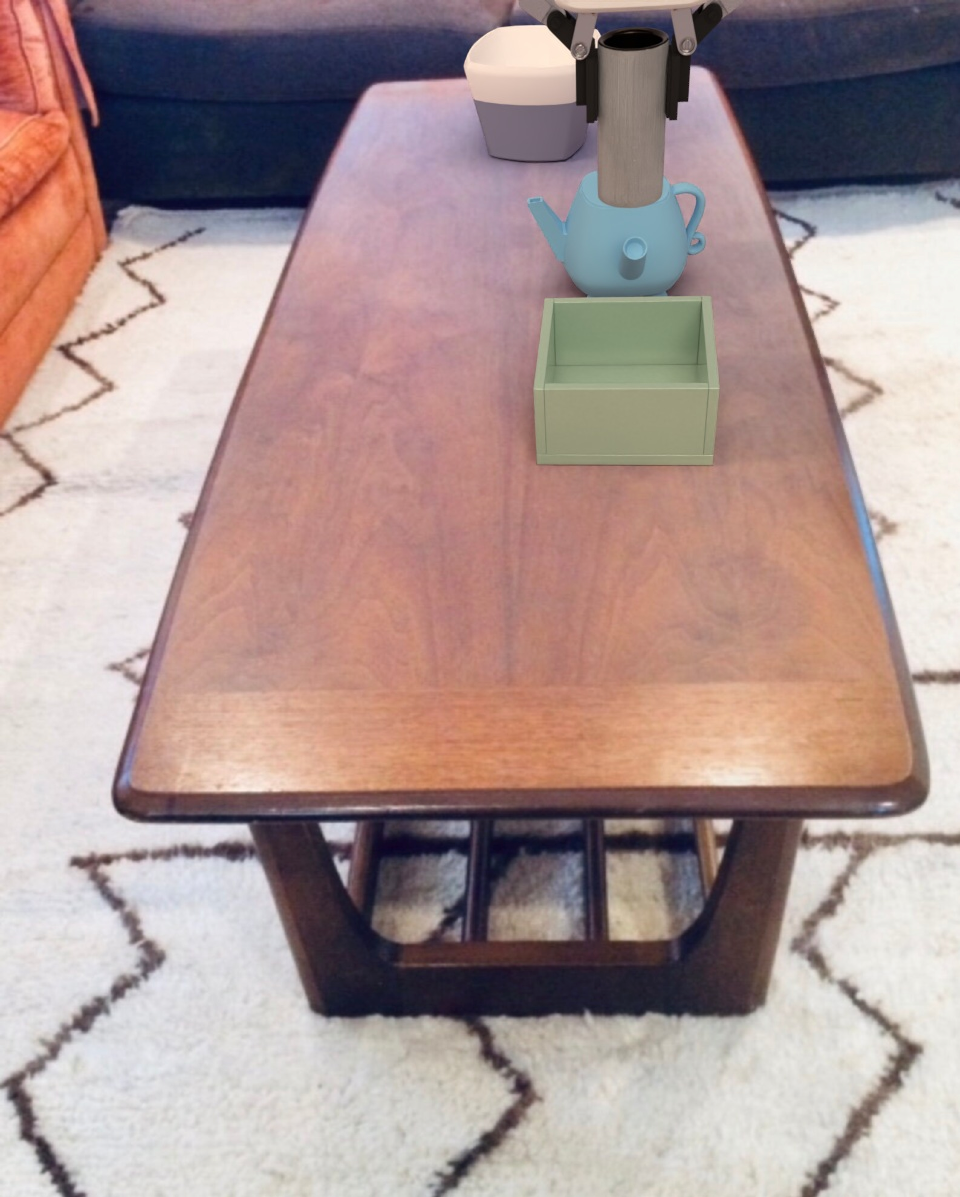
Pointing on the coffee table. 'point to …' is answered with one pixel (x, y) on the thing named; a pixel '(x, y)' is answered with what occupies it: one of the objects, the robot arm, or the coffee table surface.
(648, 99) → the grey hollow cylinder
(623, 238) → the teapot
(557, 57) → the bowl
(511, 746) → the coffee table surface
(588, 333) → the green open box
